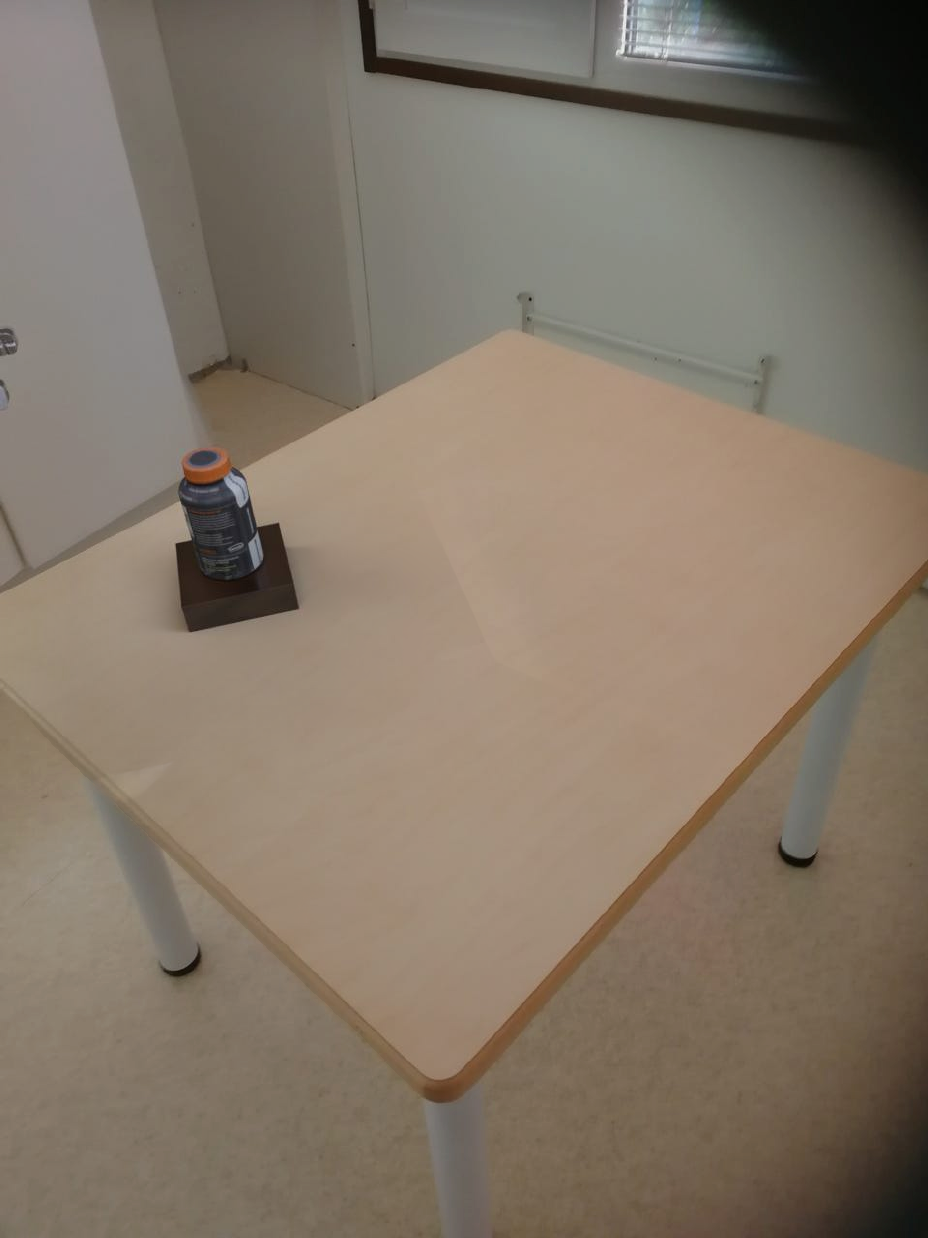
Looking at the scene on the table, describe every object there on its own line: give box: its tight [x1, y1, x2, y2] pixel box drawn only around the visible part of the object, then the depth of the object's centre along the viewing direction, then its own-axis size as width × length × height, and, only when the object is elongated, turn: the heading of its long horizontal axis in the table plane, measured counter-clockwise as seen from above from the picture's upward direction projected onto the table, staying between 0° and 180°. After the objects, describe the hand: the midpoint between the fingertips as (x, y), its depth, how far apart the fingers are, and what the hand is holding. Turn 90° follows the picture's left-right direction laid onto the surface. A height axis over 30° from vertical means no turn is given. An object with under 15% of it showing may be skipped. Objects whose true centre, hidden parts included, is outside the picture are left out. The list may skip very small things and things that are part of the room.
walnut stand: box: [174, 522, 300, 633], centre depth 90 cm, size 10×10×3 cm
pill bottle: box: [177, 446, 264, 580], centre depth 85 cm, size 6×6×11 cm
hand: (11, 364), depth 72 cm, fingers open, 8 cm apart
